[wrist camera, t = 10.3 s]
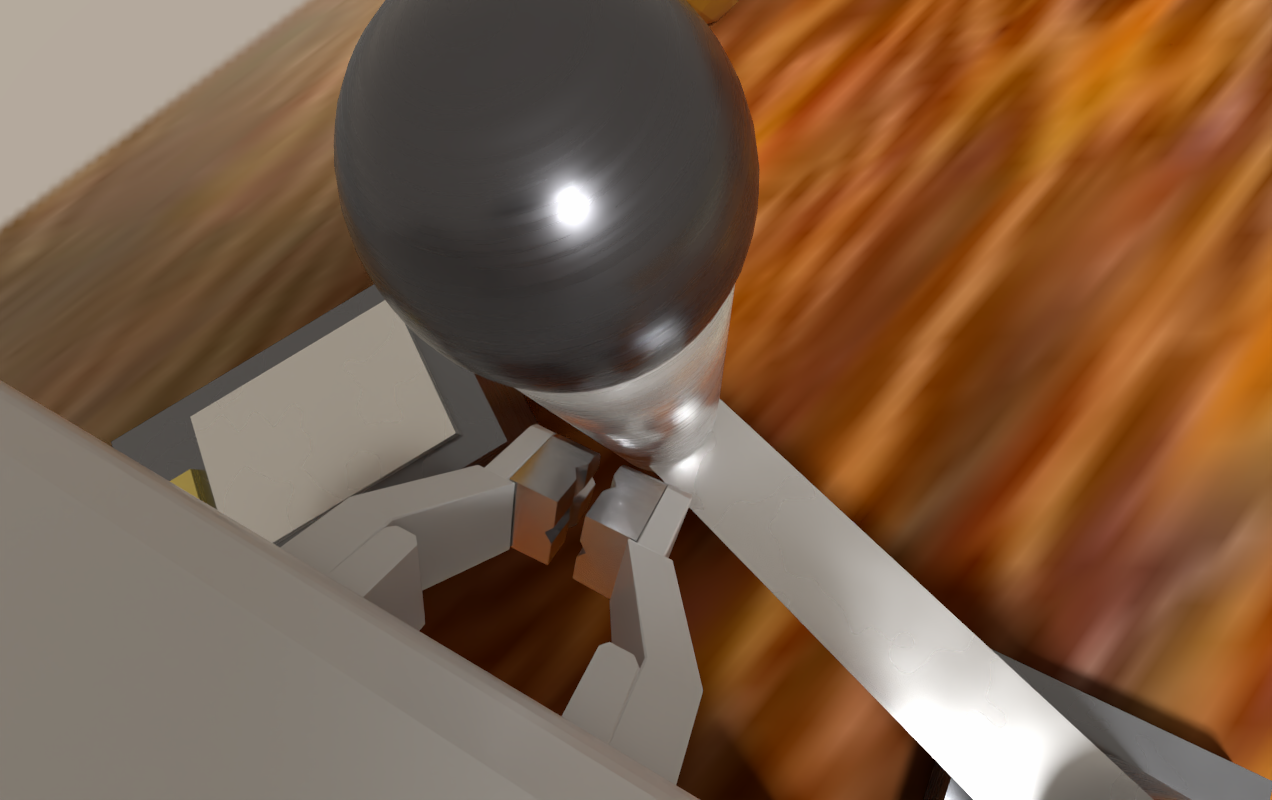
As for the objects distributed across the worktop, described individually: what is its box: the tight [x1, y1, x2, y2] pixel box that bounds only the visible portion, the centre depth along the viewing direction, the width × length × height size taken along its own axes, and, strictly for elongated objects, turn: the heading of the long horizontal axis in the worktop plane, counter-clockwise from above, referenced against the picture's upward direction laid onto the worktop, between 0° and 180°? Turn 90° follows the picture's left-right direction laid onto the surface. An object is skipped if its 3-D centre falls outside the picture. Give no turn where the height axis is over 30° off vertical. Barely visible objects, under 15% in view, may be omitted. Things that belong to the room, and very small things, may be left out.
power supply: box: [111, 285, 538, 547], centre depth 14 cm, size 6×10×4 cm, turn 120°
